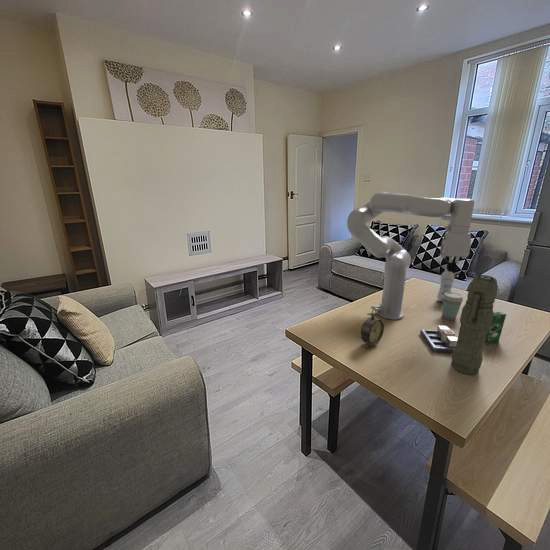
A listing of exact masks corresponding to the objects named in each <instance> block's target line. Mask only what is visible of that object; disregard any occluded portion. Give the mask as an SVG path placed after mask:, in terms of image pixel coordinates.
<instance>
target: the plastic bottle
mask: <svg viewBox="0 0 550 550" xmlns="http://www.w3.org/2000/svg"><path fill="white" fill-rule="evenodd" d="M454 280H455V275H454V272H449V271H448V270H447V266H445V268H444V271H443V272H442V273H441V275H440V285H439V288H438V289H439V290H438V293H437V296H436V298H437V301H438V302H440V303H443V295H444V294H445V293H446V292H452V287H453V284H454Z"/></svg>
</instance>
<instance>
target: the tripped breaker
mask: <svg viewBox="0 0 550 550" xmlns="http://www.w3.org/2000/svg"><path fill="white" fill-rule="evenodd" d="M447 336H449V337H456V332H454V331H453V330H452V329H450V330H444V329H443V330H442V335H441V340H442V341H445V342H446V339H447Z"/></svg>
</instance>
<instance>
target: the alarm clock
mask: <svg viewBox="0 0 550 550" xmlns="http://www.w3.org/2000/svg"><path fill="white" fill-rule="evenodd" d="M371 310H372V311H371V313H370V317H367V319H365V320H364V322H363V324H362V325H361V329H360V338H361V340H362V341H363V343H366V347H365V349H366V350H367V349H368V347H369V346H375V345H377V344H379V342H380V341H381V339H382V337H383V334H384V329H385V324H384V321H383V319H380V318H378V317H377V318H376V317H375V315H376V313H377V311H376V309H371ZM373 312H374V314H373Z"/></svg>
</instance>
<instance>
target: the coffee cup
mask: <svg viewBox="0 0 550 550" xmlns="http://www.w3.org/2000/svg"><path fill="white" fill-rule="evenodd" d="M463 297H464V296H463V295H462V294H460V293H457V292H453V291H451V292H446V293H445V294H444V295H443V302H442V313H441V314H442V317H443V318H444V319H445V320H448V321H453V320H456V319H457V316H458V314H459V310H460V308H461V305H462V303H463V302H464V298H463Z"/></svg>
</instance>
